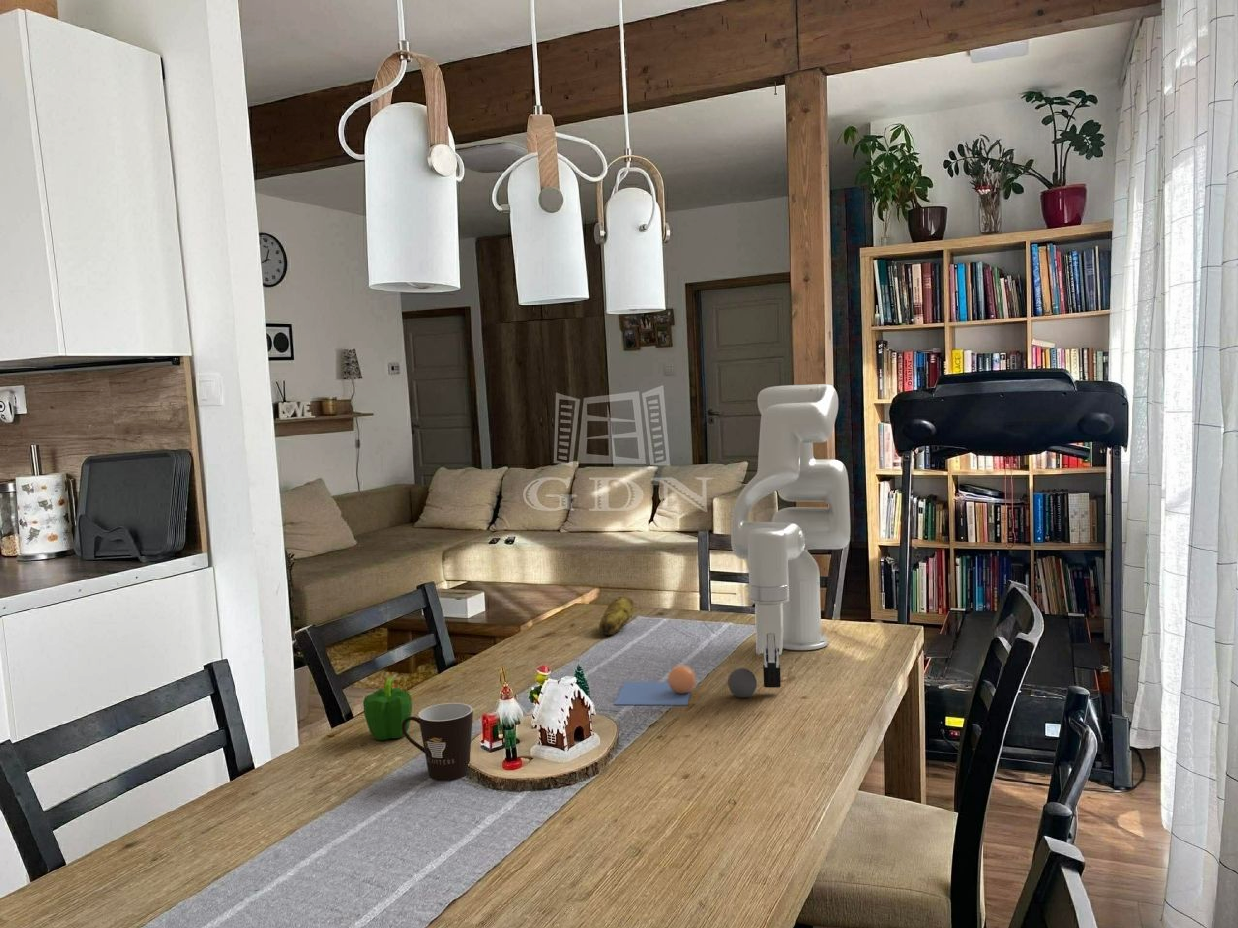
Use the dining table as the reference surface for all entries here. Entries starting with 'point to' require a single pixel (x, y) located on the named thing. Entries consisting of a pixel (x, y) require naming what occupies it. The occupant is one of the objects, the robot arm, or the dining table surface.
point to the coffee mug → (445, 739)
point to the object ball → (681, 679)
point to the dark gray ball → (742, 682)
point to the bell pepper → (387, 711)
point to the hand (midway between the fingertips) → (772, 685)
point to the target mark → (650, 694)
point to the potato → (616, 615)
